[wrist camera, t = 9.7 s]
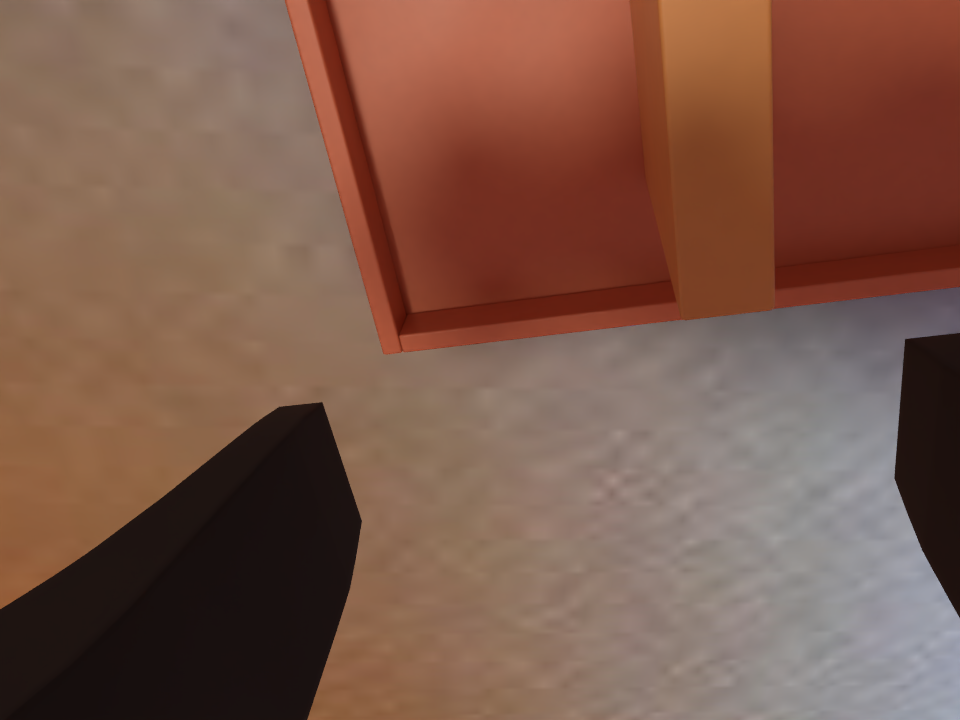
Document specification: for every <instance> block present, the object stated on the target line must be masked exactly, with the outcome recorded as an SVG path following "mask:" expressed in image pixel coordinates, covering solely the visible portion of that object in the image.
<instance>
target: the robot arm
mask: <svg viewBox="0 0 960 720" xmlns="http://www.w3.org/2000/svg"><path fill="white" fill-rule="evenodd" d="M895 481H896V484H897V486H898V489H899V492H900V494H901V497H902V500H903V503H904V505H905V508H906V511H907V513H908V516H909V519H910V521H911V523H912V526H913V528H914V531H915V533H916V536H917V538H918V541H919V543H920V546H921V548H922V551H923V552H924V554H925V556H926V558H927V560H928V562H929V564H930V565H931V567H932V569H933V571H934V573H935V574H936V576H937V578H938V580H939V582H940V583H941V585H942V587H943V589H944V591H945V592H946V594H947V596H948V598H949V600H950V601H951V603H952V605H953V607H954V609H955V610H956V612H957V614H958V616H959V617H960V333H957V334H947V335H938V336H929V337H920V338H910V339H905V347H904V360H903V374H902V387H901V400H900V413H899V426H898V439H897V452H896V465H895ZM361 523H362V520H361V517H360V514H359V511H358V508H357V505H356V502H355V499H354V496H353V493H352V490H351V487H350V484H349V481H348V478H347V475H346V472H345V469H344V466H343V463H342V460H341V457H340V454H339V451H338V448H337V445H336V442H335V439H334V436H333V433H332V430H331V427H330V424H329V421H328V418H327V415H326V412H325V409H324V406H323V403H322V402H320V403H311V404H302V405H293V406H283V407H279V408H277V409H276V410H274V411H272V412H271V413H269V414H268V415H266V416H265V417H263V418H262V419H261V420H259V421H258V422H257V423H255V424H254V425H253V426H251V427H250V428H249V429H247V430H246V431H245V432H244V433H242V434H241V435H240V436H238V437H237V438H236V439H235V440H233V441H232V442H231V443H230V444H228V445H227V446H226V447H225V448H223V449H222V450H221V451H220V452H219V453H217V454H216V455H215V456H214V457H212V458H211V459H210V460H209V461H207V462H206V463H205V464H204V465H202V466H201V467H200V468H199V469H197V470H196V471H195V472H194V473H192V474H191V475H190V476H189V477H187V478H186V479H185V480H184V481H182V482H181V483H180V484H179V485H177V486H176V487H175V488H174V489H172V490H171V491H170V492H169V493H167V494H166V495H165V496H164V497H162V498H161V499H160V500H158V501H157V502H156V503H154V504H153V505H152V506H150V507H149V508H148V509H146V510H145V511H144V512H142V513H141V514H140V515H138V516H137V517H136V518H134V519H133V520H132V521H130V522H129V523H128V524H126V525H125V526H124V527H122V528H121V529H120V530H118V531H117V532H115V533H114V534H113V535H111V536H110V537H109V538H107V539H106V540H105V541H103V542H102V543H101V544H99V545H98V546H97V547H95V548H94V549H93V550H91V551H90V552H88V553H87V554H85V555H84V556H82V557H81V558H80V559H78V560H77V561H75V562H74V563H72V564H71V565H69V566H68V567H66V568H65V569H63V570H62V571H60V572H59V573H57V574H56V575H54V576H53V577H51V578H50V579H48V580H46V581H45V582H43V583H42V584H40V585H39V586H37V587H35V588H34V589H32V590H31V591H29V592H28V593H26V594H24V595H23V596H21V597H20V598H18V599H16V600H15V601H13V602H12V603H10V604H8V605H7V606H5V607H3V608H2V609H0V720H307V718H308V715H309V712H310V709H311V706H312V703H313V700H314V697H315V694H316V691H317V688H318V685H319V682H320V679H321V676H322V673H323V670H324V667H325V664H326V661H327V658H328V655H329V652H330V649H331V646H332V643H333V640H334V637H335V634H336V631H337V628H338V625H339V621H340V618H341V615H342V612H343V609H344V606H345V603H346V599H347V596H348V593H349V590H350V585H351V580H352V575H353V570H354V565H355V560H356V554H357V548H358V542H359V535H360V529H361Z"/></svg>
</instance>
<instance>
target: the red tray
mask: <svg viewBox="0 0 960 720" xmlns="http://www.w3.org/2000/svg"><path fill="white" fill-rule="evenodd" d="M285 3H286V7H287V10H288V14H289V17H290V21H291V24H292V28H293V32H294V35H295V39H296V42H297V46H298V50H299V53H300V57H301V60H302V64H303V67H304V71H305V75H306V78H307V82H308V85H309V89H310V92H311V96H312V100H313V103H314V107H315V110H316V114H317V118H318V121H319V125H320V128H321V132H322V135H323V139H324V143H325V146H326V150H327V153H328V157H329V160H330V164H331V168H332V171H333V175H334V178H335V182H336V185H337V189H338V193H339V196H340V200H341V203H342V207H343V211H344V214H345V218H346V221H347V225H348V228H349V232H350V236H351V239H352V243H353V246H354V250H355V253H356V257H357V261H358V264H359V268H360V271H361V275H362V279H363V282H364V286H365V289H366V293H367V296H368V300H369V304H370V307H371V311H372V314H373V318H374V321H375V325H376V329H377V332H378V336H379V339H380V343H381V347H382V350H383V353H384V354H394V353H401V352H402V351H403V352H411V351H419V350H428V349H436V348H445V347H453V346H462V345H470V344H479V343H487V342H496V341H504V340H513V339H521V338H530V337H538V336H547V335H555V334H564V333H572V332H581V331H589V330H598V329H606V328H615V327H623V326H631V325H640V324H648V323H657V322H665V321H674V320H682V318H681V317H680V313H679V309H678V305H677V301H676V297H675V293H674V290H673V286H672V282H671V278H670V274H669V270H668V266H667V262H666V258H665V254H664V250H663V246H662V242H661V238H660V234H659V230H658V226H657V222H656V218H655V214H654V210H653V206H652V202H651V199H650V195H649V191H648V187H647V183H646V178H645V166H644V155H643V144H642V133H641V122H640V110H639V99H638V88H637V77H636V66H635V55H634V43H633V32H632V21H631V10H630V0H285ZM772 88H773V177H774V266H775V306H774V309H776V308H784V307H793V306H801V305H810V304H818V303H827V302H835V301H844V300H852V299H861V298H869V297H878V296H886V295H895V294H903V293H912V292H920V291H929V290H937V289H946V288H954V287H960V0H772Z"/></svg>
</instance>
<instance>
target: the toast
mask: <svg viewBox="0 0 960 720" xmlns="http://www.w3.org/2000/svg"><path fill="white" fill-rule="evenodd" d="M630 10H631V21H632V32H633V43H634V55H635V66H636V77H637V88H638V99H639V110H640V122H641V133H642V144H643V155H644V166H645V178H646V183H647V187H648V191H649V195H650V199H651V202H652V206H653V210H654V214H655V218H656V222H657V226H658V230H659V234H660V238H661V242H662V246H663V250H664V254H665V258H666V262H667V266H668V270H669V274H670V278H671V282H672V286H673V290H674V293H675V297H676V301H677V305H678V309H679V313H680V317H681V318H682V320H692V319H700V318H709V317H717V316H726V315H734V314H743V313H751V312H760V311H768V310H772V309H774V306H775V266H774V177H773V88H772V0H630Z"/></svg>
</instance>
